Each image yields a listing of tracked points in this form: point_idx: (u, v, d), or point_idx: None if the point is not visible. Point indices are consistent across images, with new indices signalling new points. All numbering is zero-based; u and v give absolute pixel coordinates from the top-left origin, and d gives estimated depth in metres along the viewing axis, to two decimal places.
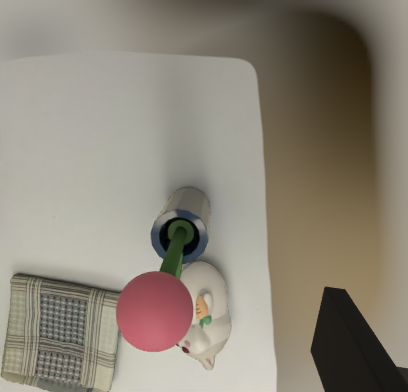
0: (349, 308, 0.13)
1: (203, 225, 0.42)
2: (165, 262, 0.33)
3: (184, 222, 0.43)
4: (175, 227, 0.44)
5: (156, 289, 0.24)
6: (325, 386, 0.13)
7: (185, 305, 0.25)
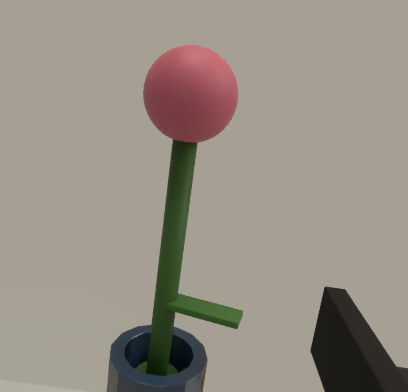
0: (349, 308, 0.13)
1: (150, 325, 0.28)
2: (164, 217, 0.23)
3: (141, 366, 0.26)
4: None
5: None
6: (325, 386, 0.13)
7: None
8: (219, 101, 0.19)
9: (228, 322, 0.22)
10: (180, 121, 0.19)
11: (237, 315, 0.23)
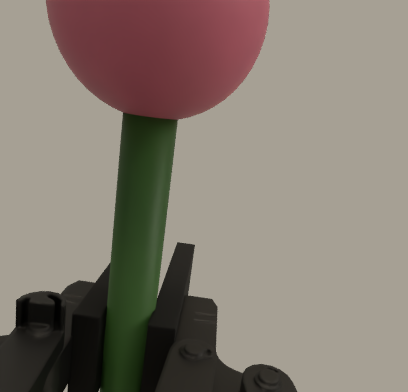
0: (184, 256, 0.15)
1: None
2: (109, 280, 0.11)
3: None
4: None
5: None
6: None
7: None
8: (229, 5, 0.07)
9: None
10: (126, 60, 0.08)
11: None
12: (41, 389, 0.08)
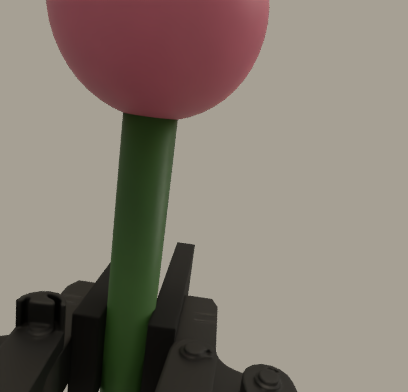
0: (184, 256, 0.15)
1: None
2: (109, 280, 0.11)
3: None
4: None
5: None
6: None
7: None
8: (228, 6, 0.07)
9: None
10: (126, 59, 0.08)
11: None
12: (41, 389, 0.08)
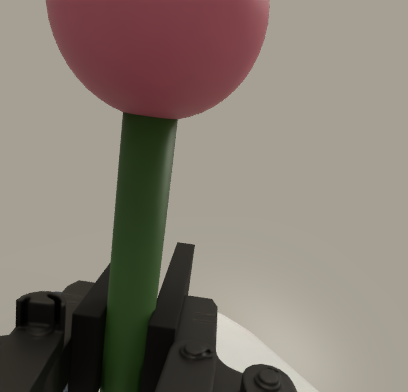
0: (184, 256, 0.15)
1: None
2: (109, 280, 0.11)
3: None
4: None
5: None
6: None
7: None
8: (229, 5, 0.07)
9: None
10: (126, 59, 0.08)
11: None
12: (41, 389, 0.08)
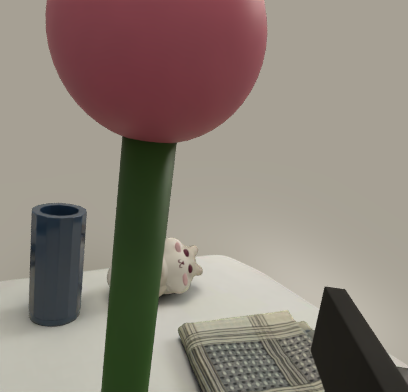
0: (349, 308, 0.13)
1: (45, 204, 0.48)
2: (109, 300, 0.11)
3: None
4: None
5: None
6: (326, 386, 0.13)
7: None
8: (227, 37, 0.07)
9: None
10: (125, 90, 0.08)
11: None
12: None
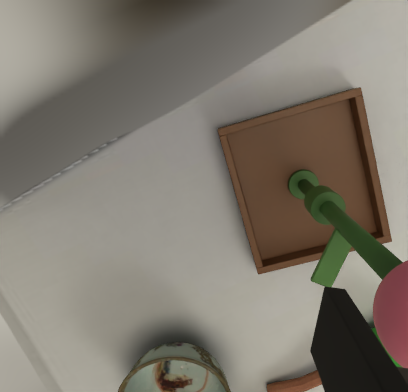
0: (349, 309, 0.13)
1: None
2: (374, 243, 0.23)
3: (337, 196, 0.33)
4: (324, 200, 0.33)
5: None
6: (325, 386, 0.13)
7: None
8: None
9: (314, 274, 0.29)
10: (377, 291, 0.17)
11: (322, 282, 0.29)
12: None
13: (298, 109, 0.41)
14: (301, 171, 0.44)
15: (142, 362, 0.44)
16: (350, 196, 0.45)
